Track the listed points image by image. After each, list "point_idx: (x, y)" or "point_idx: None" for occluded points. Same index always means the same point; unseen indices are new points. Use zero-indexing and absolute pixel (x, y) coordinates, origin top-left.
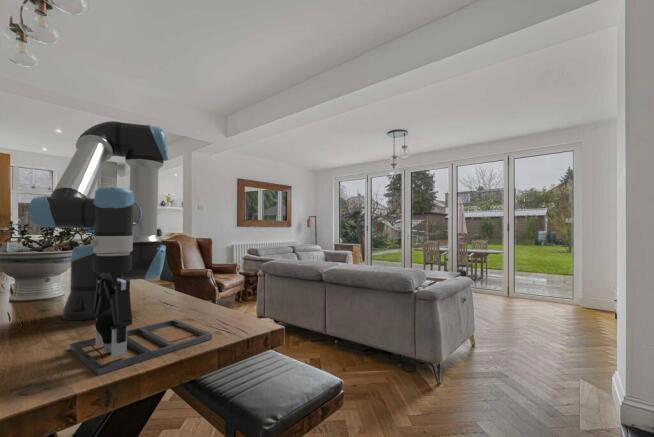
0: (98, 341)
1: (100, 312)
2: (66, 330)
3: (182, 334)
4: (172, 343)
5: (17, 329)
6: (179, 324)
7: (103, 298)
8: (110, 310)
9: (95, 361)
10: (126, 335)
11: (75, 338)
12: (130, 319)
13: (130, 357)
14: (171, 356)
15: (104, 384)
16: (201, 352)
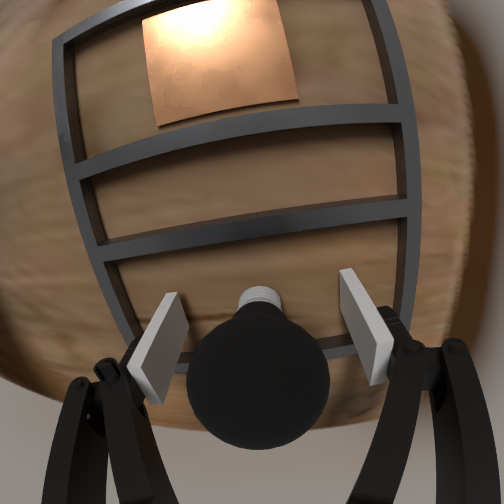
0: (182, 332)
1: (146, 419)
2: (16, 330)
3: (238, 20)
4: (387, 106)
5: (9, 374)
6: (115, 18)
7: (173, 498)
8: (263, 444)
9: (351, 346)
10: (377, 311)
11: (67, 334)
12: (468, 360)
13: (405, 269)
14: (439, 145)
15: (449, 320)
16: (461, 68)
